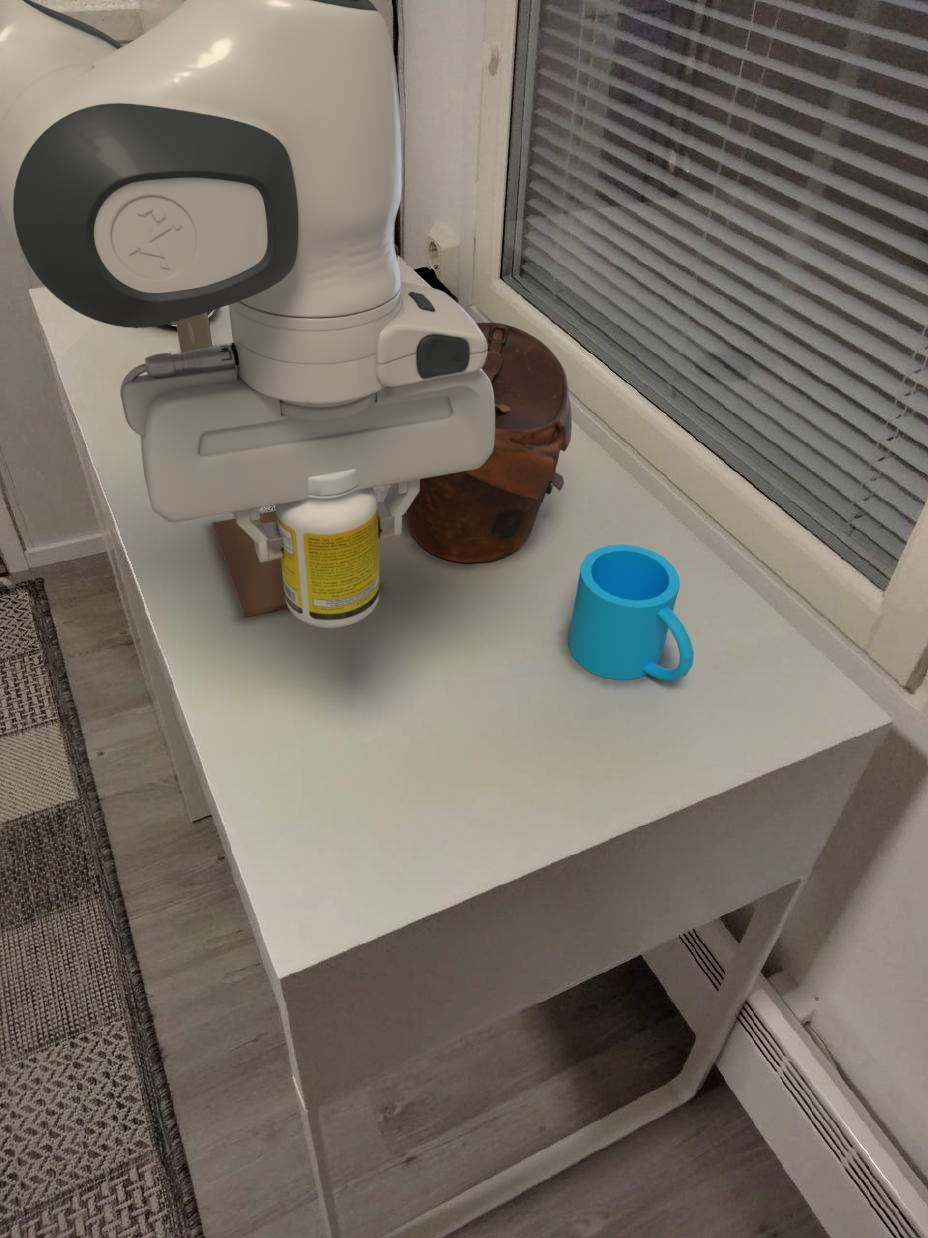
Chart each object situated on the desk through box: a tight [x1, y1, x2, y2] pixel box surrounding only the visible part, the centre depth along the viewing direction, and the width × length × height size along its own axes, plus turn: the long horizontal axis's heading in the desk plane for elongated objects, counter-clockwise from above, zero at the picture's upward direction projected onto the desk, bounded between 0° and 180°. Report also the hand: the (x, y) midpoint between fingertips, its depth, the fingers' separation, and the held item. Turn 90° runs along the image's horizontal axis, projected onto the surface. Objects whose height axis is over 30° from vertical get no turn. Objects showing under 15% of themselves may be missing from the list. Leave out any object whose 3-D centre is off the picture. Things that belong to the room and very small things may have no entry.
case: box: [405, 322, 573, 564], centre depth 89 cm, size 18×20×18 cm
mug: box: [567, 544, 695, 681], centre depth 79 cm, size 12×8×8 cm
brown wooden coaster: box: [211, 510, 289, 618], centre depth 90 cm, size 12×14×1 cm
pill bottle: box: [274, 469, 381, 629], centre depth 59 cm, size 6×6×11 cm
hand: (329, 543), depth 59 cm, fingers closed on pill bottle, 6 cm apart
